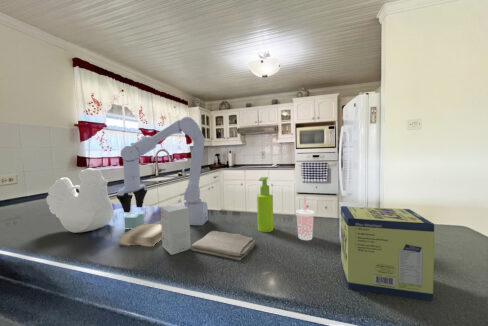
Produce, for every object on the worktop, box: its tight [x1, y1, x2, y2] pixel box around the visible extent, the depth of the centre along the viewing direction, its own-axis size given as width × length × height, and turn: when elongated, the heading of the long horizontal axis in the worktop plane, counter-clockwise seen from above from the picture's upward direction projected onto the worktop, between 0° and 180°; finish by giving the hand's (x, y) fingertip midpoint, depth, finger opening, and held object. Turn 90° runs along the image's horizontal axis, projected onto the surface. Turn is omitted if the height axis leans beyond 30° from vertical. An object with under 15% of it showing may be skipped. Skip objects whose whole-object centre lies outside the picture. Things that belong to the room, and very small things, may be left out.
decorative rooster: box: [45, 167, 115, 234], centre depth 87 cm, size 25×16×25 cm, turn 75°
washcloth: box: [190, 230, 256, 261], centre depth 67 cm, size 12×18×3 cm, turn 67°
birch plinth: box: [118, 223, 162, 247], centre depth 76 cm, size 12×12×3 cm
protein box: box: [340, 206, 435, 302], centre depth 48 cm, size 10×16×16 cm
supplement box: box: [338, 201, 367, 242], centre depth 67 cm, size 7×7×13 cm
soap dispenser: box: [256, 176, 274, 233], centre depth 81 cm, size 6×7×20 cm
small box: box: [160, 203, 192, 256], centre depth 67 cm, size 8×6×13 cm
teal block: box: [123, 213, 145, 229], centre depth 87 cm, size 5×5×5 cm
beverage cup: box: [295, 196, 315, 241], centre depth 73 cm, size 6×6×14 cm
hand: (133, 209), depth 87 cm, fingers open, 7 cm apart
